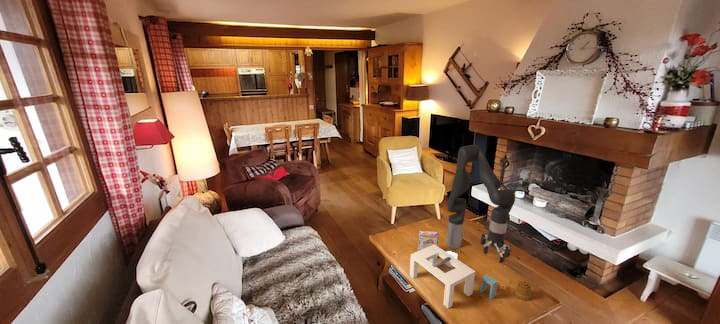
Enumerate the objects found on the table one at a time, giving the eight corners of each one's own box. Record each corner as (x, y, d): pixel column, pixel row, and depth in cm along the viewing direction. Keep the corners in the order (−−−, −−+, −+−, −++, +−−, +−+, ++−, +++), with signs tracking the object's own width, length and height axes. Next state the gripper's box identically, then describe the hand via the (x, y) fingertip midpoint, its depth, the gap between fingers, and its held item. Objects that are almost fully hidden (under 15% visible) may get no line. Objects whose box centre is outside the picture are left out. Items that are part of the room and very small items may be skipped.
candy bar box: (418, 258, 177) (419, 234, 172) (417, 253, 182) (418, 230, 177) (436, 259, 176) (438, 235, 171) (435, 254, 181) (437, 231, 176)
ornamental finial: (534, 299, 145) (522, 302, 143) (522, 289, 151) (510, 291, 149) (536, 286, 142) (524, 289, 140) (524, 276, 149) (512, 279, 147)
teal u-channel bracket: (484, 288, 152) (487, 274, 149) (495, 296, 147) (497, 281, 144) (480, 291, 150) (482, 277, 147) (490, 299, 145) (493, 284, 142)
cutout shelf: (432, 264, 171) (434, 242, 166) (472, 294, 148) (475, 269, 144) (409, 275, 162) (410, 252, 157) (447, 308, 139) (450, 282, 135)
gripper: (516, 233, 133) (511, 263, 138) (489, 220, 145) (485, 248, 149) (506, 238, 129) (501, 268, 134) (479, 224, 141) (475, 252, 146)
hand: (493, 257), depth 142 cm, fingers open, 8 cm apart
